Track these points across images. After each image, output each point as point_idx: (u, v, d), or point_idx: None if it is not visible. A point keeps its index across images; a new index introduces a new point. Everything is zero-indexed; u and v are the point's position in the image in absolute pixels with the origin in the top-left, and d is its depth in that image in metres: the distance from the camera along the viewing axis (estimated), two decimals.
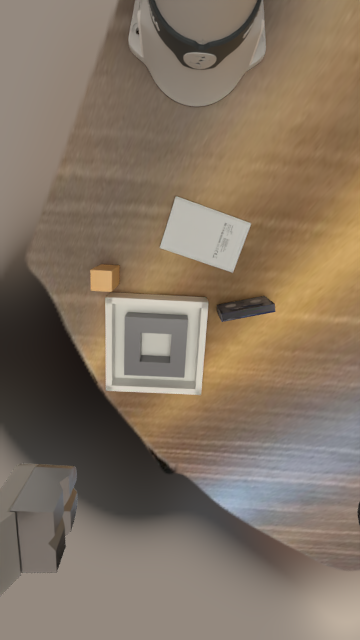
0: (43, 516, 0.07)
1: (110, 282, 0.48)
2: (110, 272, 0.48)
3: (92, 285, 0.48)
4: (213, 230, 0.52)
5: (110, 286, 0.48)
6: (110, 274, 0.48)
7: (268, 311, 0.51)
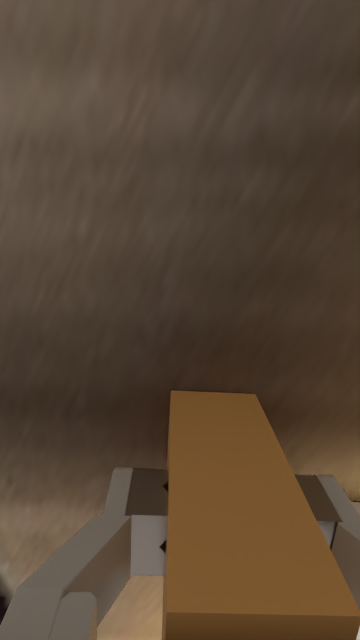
0: (157, 520, 0.07)
1: None
2: (348, 625, 0.05)
3: None
4: None
5: None
6: (345, 639, 0.05)
7: None
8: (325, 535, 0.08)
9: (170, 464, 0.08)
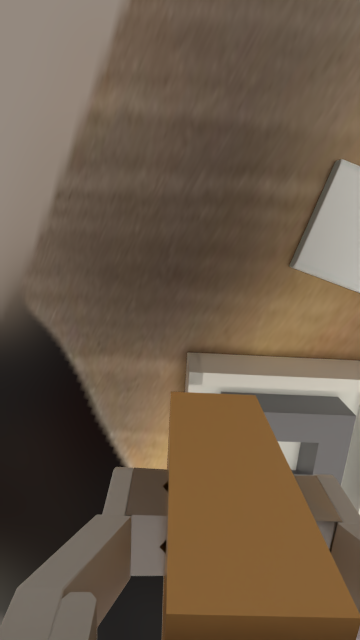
0: (157, 520, 0.07)
1: None
2: (347, 627, 0.05)
3: None
4: None
5: None
6: None
7: None
8: (325, 535, 0.08)
9: (170, 465, 0.08)
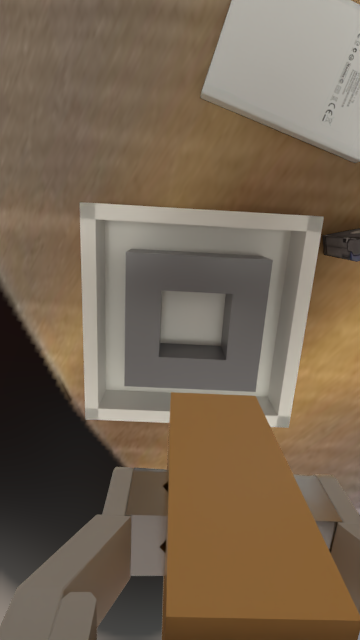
0: (157, 520, 0.07)
1: None
2: (348, 630, 0.05)
3: None
4: (331, 49, 0.22)
5: None
6: None
7: None
8: (325, 535, 0.08)
9: (170, 467, 0.08)
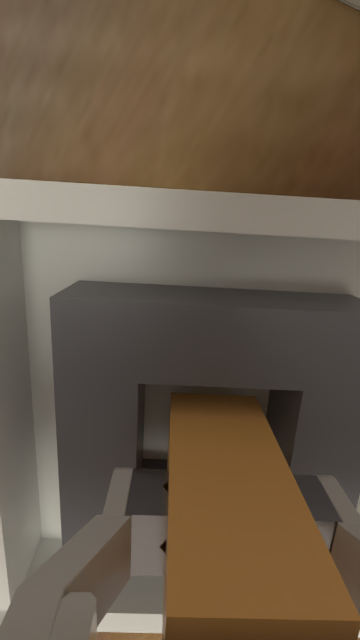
0: (157, 520, 0.07)
1: None
2: (348, 630, 0.05)
3: None
4: None
5: None
6: None
7: None
8: (325, 535, 0.08)
9: (170, 467, 0.08)
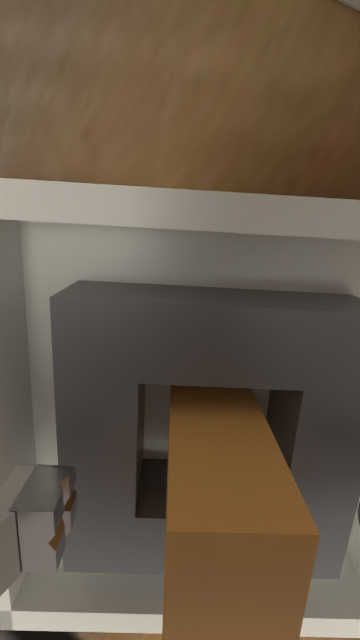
0: (43, 517, 0.07)
1: (299, 598, 0.07)
2: (309, 543, 0.07)
3: (174, 614, 0.07)
4: None
5: (295, 617, 0.07)
6: (307, 554, 0.07)
7: None
8: None
9: (170, 432, 0.10)
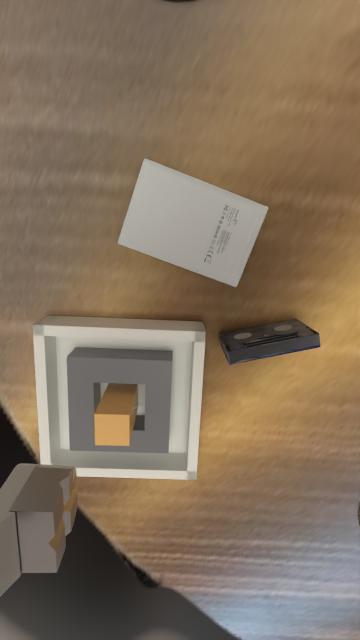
0: (43, 516, 0.07)
1: (127, 432, 0.29)
2: (127, 417, 0.29)
3: (97, 437, 0.29)
4: (206, 217, 0.32)
5: (127, 438, 0.29)
6: (127, 420, 0.29)
7: (308, 346, 0.30)
8: None
9: (102, 396, 0.32)
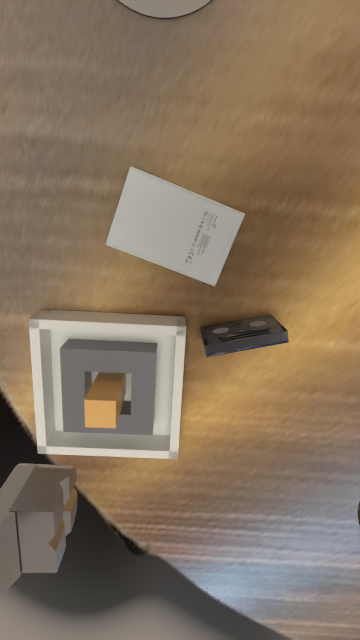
0: (43, 516, 0.07)
1: (113, 416, 0.33)
2: (113, 402, 0.32)
3: (87, 420, 0.33)
4: (187, 221, 0.34)
5: (113, 421, 0.33)
6: (113, 405, 0.32)
7: (277, 342, 0.33)
8: None
9: (92, 384, 0.35)
